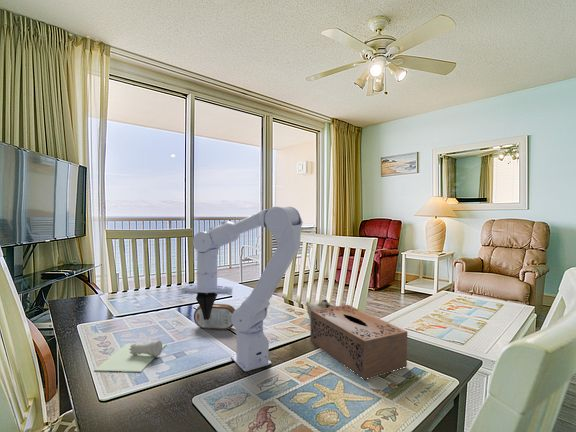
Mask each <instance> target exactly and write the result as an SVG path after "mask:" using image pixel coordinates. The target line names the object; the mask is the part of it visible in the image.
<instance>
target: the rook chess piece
mask: <svg viewBox="0 0 576 432" xmlns="http://www.w3.org/2000/svg"><path fill="white" fill-rule="evenodd" d="M162 344H163V342H162V341H161V340H159V339H157V340H156V339H155V340H152V341H150V342H149V343H138V342H135V344H132V345H131V346H130V347H131V348H130V349H129V350H131V351H130V353H131V354H133V355H136V354H141V353H143V354H148V355H150V356H152V357H154V356H155V358H158V357H159V356H160V355H161V353H162V351H163V349H162Z"/></svg>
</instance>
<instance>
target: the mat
mask: <svg viewBox="0 0 576 432" xmlns="http://www.w3.org/2000/svg"><path fill="white" fill-rule="evenodd" d="M135 343H136V342H135ZM135 343H134V342H132V343H131V342H128V343H125V344H124V345H123V346H122V347H120V349H118V350H117V351H116V352H114V353H113V354H112V355H110V357H108V358H107V359H106V360H105V361H103V362H102V363H101V364H100V365H99V366H98V367H96V368H95V369H94V370H93V371H94V372H108V371H118V372H119V371H121V373H122V372H123V373H142V372H143V371H144V370H145V369H146V368H147V367H148V365H150V363H151V362H152V361H154V359H155V358H156V357H155V356H154V357H152V356H150V355H148V354H143V353H141V354H136V355H133V354H131V353H130V351H131V350H129V349H130V348H131V347H130V346H131V345H132V344H135ZM166 346H167V343H162V350H163V349H164V348H165V347H166ZM118 372H117V373H118ZM119 373H120V372H119Z"/></svg>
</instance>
